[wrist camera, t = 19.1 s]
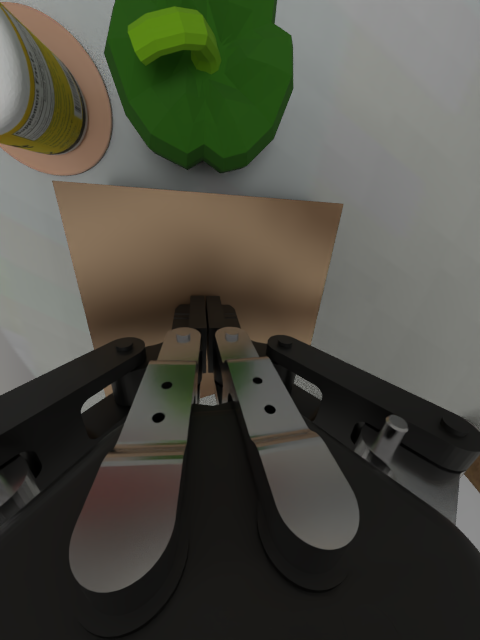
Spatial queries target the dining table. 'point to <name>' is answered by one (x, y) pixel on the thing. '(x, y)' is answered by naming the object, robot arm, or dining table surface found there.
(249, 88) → the bell pepper
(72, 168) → the coaster
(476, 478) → the coffee cup
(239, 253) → the tan flat square panel
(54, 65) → the supplement bottle
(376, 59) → the dining table surface
